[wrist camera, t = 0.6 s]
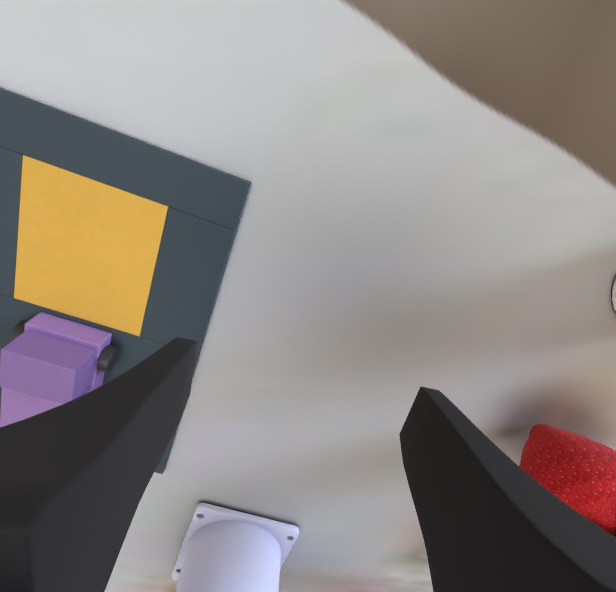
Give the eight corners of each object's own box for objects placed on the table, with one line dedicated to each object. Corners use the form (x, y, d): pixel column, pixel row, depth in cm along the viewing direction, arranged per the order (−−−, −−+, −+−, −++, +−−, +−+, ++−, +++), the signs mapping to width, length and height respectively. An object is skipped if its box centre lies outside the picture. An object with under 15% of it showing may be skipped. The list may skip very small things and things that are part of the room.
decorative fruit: (555, 475, 27) (679, 655, 18) (464, 442, 26) (548, 617, 17) (615, 415, 25) (791, 585, 16) (518, 376, 24) (648, 536, 15)
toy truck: (106, 417, 25) (77, 459, 22) (22, 394, 24) (-20, 434, 21) (122, 336, 22) (93, 370, 19) (29, 307, 22) (-17, 339, 19)
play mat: (164, 469, 27) (162, 474, 27) (-47, 414, 25) (-52, 419, 25) (250, 182, 19) (249, 183, 19) (-50, 69, 17) (-58, 67, 17)
